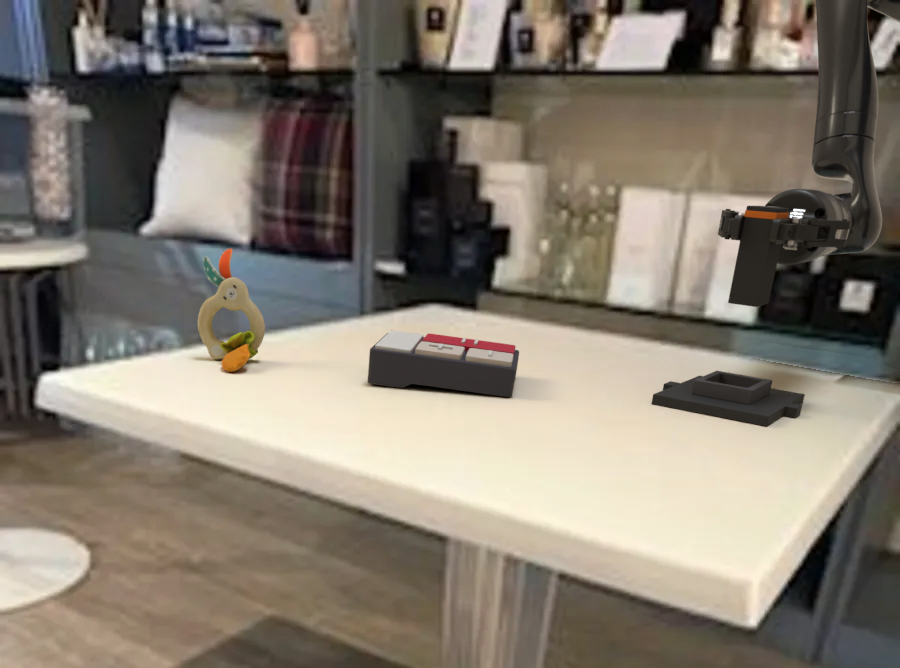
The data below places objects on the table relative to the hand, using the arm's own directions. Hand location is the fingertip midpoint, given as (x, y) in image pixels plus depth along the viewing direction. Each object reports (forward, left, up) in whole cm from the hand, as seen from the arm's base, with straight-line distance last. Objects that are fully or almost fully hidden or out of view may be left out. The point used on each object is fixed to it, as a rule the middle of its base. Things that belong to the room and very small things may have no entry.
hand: (755, 229), depth 84 cm
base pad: (-3, 0, -17) cm, 17 cm away
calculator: (+17, -23, -17) cm, 34 cm away
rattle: (+33, -41, -17) cm, 56 cm away
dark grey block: (-3, -1, -7) cm, 8 cm away
